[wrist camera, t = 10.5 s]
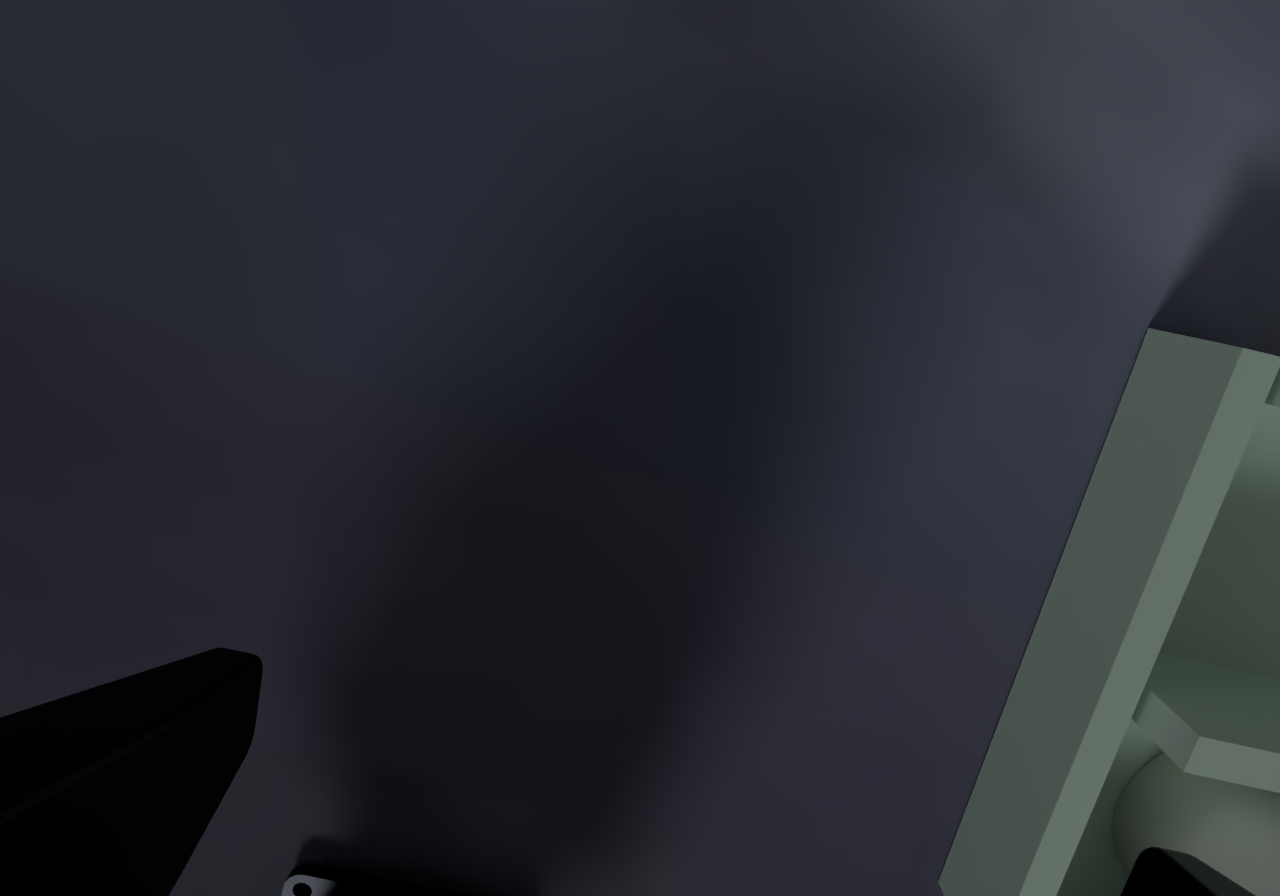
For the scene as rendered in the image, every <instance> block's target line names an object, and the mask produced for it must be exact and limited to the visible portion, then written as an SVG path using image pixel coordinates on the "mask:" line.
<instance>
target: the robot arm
mask: <svg viewBox="0 0 1280 896" xmlns="http://www.w3.org/2000/svg"><path fill="white" fill-rule="evenodd" d="M262 671H263V669H262V662H261V660H260V658H259V657H258V656H256V655H254V654H250V653H245V652H241V651H236V650H231V649H227V648H215V649H212V650H209V651H206V652H203V653H199V654H196V655H193V656H190V657H187V658H184V659H181V660H178V661H175V662H172V663H168V664H165V665H162V666H159V667H156V668H153V669H150V670H147V671H144V672H140V673H137V674H134V675H131V676H128V677H125V678H122V679H119V680H116V681H113V682H109V683H106V684H103V685H100V686H97V687H94V688H91V689H88V690H85V691H81V692H78V693H75V694H72V695H69V696H66V697H63V698H60V699H57V700H54V701H50V702H47V703H44V704H41V705H38V706H35V707H32V708H29V709H26V710H22V711H19V712H16V713H13V714H10V715H7V716H4V717H1V718H0V896H169V894H170V892H171V891H172V889H173V887H174V885H175V884H176V882H177V880H178V879H179V877H180V875H181V873H182V872H183V870H184V868H185V866H186V864H187V862H188V861H189V859H190V857H191V855H192V853H193V852H194V850H195V848H196V846H197V844H198V842H199V841H200V839H201V837H202V835H203V833H204V832H205V830H206V828H207V826H208V824H209V822H210V821H211V819H212V817H213V815H214V813H215V811H216V810H217V808H218V806H219V804H220V802H221V801H222V799H223V797H224V795H225V793H226V791H227V790H228V788H229V786H230V784H231V782H232V781H233V779H234V777H235V775H236V773H237V771H238V770H239V768H240V766H241V764H242V762H243V761H244V759H245V757H246V755H247V753H248V750H249V748H250V745H251V742H252V739H253V735H254V731H255V724H256V717H257V709H258V702H259V694H260V687H261V680H262ZM300 883H305V884H307V885H309V886H310V887H311V888H306V887H304V886H302V885H301V884H300ZM282 896H464V895H459V894H454V893H450V892H445V891H440V890H435V889H430V888H425V887H420V886H415V885H410V884H405V883H401V882H396V881H391V880H386V879H381V878H376V877H371V876H366V875H361V874H356V873H352V872H347V871H342V870H337V869H332V868H327V867H322V866H317V865H312V864H301V865H298V866H296V867H295V868H294V869H293V870H292V871H291V873H290V874H289V876H288V878H287V880H286V881H285V884H284V886H283V892H282ZM1120 896H1255V895H1254V894H1252V893H1251V892H1249V891H1248V890H1246V889H1245V888H1243V887H1241V886H1240V885H1238V884H1237V883H1235V882H1234V881H1232V880H1230V879H1229V878H1227V877H1226V876H1224V875H1223V874H1221V873H1220V872H1218V871H1216V870H1215V869H1213V868H1212V867H1210V866H1209V865H1207V864H1206V863H1204V862H1202V861H1201V860H1199V859H1198V858H1196V857H1194V856H1192V855H1190V854H1187V853H1184V852H1179V851H1175V850H1170V849H1165V848H1160V847H1149V848H1146V849H1144V850H1143V851H1142V852H1141V853H1140V854H1139V855H1138V857H1137V859H1136V861H1135V864H1134V866H1133V868H1132V870H1131V873H1130V875H1129V877H1128V879H1127V882H1126V884H1125V886H1124V888H1123V891H1122V893H1121V895H1120Z"/></svg>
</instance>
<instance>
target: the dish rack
mask: <svg viewBox="0 0 1280 896" xmlns="http://www.w3.org/2000/svg"><path fill="white" fill-rule="evenodd" d="M1162 753H1165V754H1166V755H1167V756H1168V757H1169V758H1170V759H1171V760H1172V761H1173V762H1174V763H1175V764H1176V765H1177V766H1178V767H1179V768H1180V769H1181V770H1182V771H1183V772H1185V773H1190V774H1194V775H1199V776H1203V777H1208V778H1213V779H1217V780H1222V781H1226V782H1231V783H1236V784H1240V785H1245V786H1249V787H1254V788H1258V789H1263V790H1268V791H1272V792H1277V793H1280V357H1279V356H1275V355H1271V354H1267V353H1263V352H1259V351H1254V350H1250V349H1246V348H1242V347H1237V346H1232V345H1228V344H1223V343H1218V342H1213V341H1209V340H1204V339H1199V338H1194V337H1189V336H1185V335H1180V334H1175V333H1170V332H1166V331H1161V330H1156V329H1151V328H1148V330H1147V333H1146V335H1145V338H1144V341H1143V343H1142V346H1141V348H1140V351H1139V354H1138V356H1137V359H1136V362H1135V364H1134V367H1133V370H1132V372H1131V375H1130V377H1129V380H1128V383H1127V385H1126V388H1125V391H1124V393H1123V396H1122V399H1121V401H1120V404H1119V406H1118V409H1117V412H1116V414H1115V417H1114V420H1113V422H1112V425H1111V428H1110V430H1109V433H1108V435H1107V438H1106V441H1105V443H1104V446H1103V449H1102V451H1101V454H1100V456H1099V459H1098V462H1097V464H1096V467H1095V470H1094V472H1093V475H1092V478H1091V480H1090V483H1089V485H1088V488H1087V491H1086V493H1085V496H1084V499H1083V501H1082V504H1081V507H1080V509H1079V512H1078V514H1077V517H1076V520H1075V522H1074V525H1073V528H1072V530H1071V533H1070V536H1069V538H1068V541H1067V543H1066V546H1065V549H1064V551H1063V554H1062V557H1061V559H1060V562H1059V565H1058V567H1057V570H1056V572H1055V575H1054V578H1053V580H1052V583H1051V586H1050V588H1049V591H1048V594H1047V596H1046V599H1045V601H1044V604H1043V607H1042V609H1041V612H1040V615H1039V617H1038V620H1037V623H1036V625H1035V628H1034V630H1033V633H1032V636H1031V638H1030V641H1029V644H1028V646H1027V649H1026V652H1025V654H1024V657H1023V659H1022V662H1021V665H1020V667H1019V670H1018V673H1017V675H1016V678H1015V681H1014V683H1013V686H1012V688H1011V691H1010V694H1009V696H1008V699H1007V702H1006V704H1005V707H1004V709H1003V712H1002V715H1001V717H1000V720H999V723H998V725H997V728H996V731H995V733H994V736H993V738H992V741H991V744H990V746H989V749H988V752H987V754H986V757H985V760H984V762H983V765H982V767H981V770H980V773H979V775H978V778H977V781H976V783H975V786H974V789H973V791H972V794H971V796H970V799H969V802H968V804H967V807H966V810H965V812H964V815H963V818H962V820H961V823H960V825H959V828H958V831H957V833H956V836H955V839H954V841H953V844H952V847H951V849H950V852H949V854H948V857H947V860H946V862H945V865H944V868H943V870H942V873H941V876H940V878H939V881H938V882H939V885H940V887H941V889H942V892H943V894H944V896H1120V895H1121V893H1122V891H1123V888H1124V886H1125V884H1126V882H1127V879H1128V877H1129V875H1128V873H1127V872H1126V871H1125V869H1124V868H1123V866H1122V865H1121V863H1120V861H1119V859H1118V857H1117V855H1116V852H1115V849H1114V846H1113V840H1112V821H1113V815H1114V811H1115V808H1116V805H1117V802H1118V800H1119V798H1120V796H1121V794H1122V792H1123V791H1124V789H1125V788H1126V786H1127V785H1128V783H1129V782H1130V781H1131V780H1132V778H1133V777H1134V776H1135V775H1136V774H1137V773H1138V772H1139V771H1140V770H1141V769H1142V768H1143V767H1144V766H1145V765H1146V764H1147V763H1149V762H1150V761H1152V760H1153V759H1154V758H1156V757H1157V756H1159V755H1160V754H1162Z"/></svg>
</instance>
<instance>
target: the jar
mask: <svg viewBox="0 0 1280 896" xmlns="http://www.w3.org/2000/svg"><path fill="white" fill-rule="evenodd" d="M1112 840H1113V846H1114V849H1115V852H1116V855H1117V857H1118V859H1119V861H1120V863H1121V865H1122V866H1123V868H1124V869H1125V871H1126V872H1127V873H1128V875H1130V873H1131V870H1132V868H1133V866H1134V864H1135V861H1136V859H1137V857H1138V855H1139V854H1140V853H1141V852H1142V851H1143V850H1144V849H1146V848H1149V847H1160V848H1165V849H1170V850H1175V851H1179V852H1184V853H1187V854H1190V855H1192V856H1194V857H1196V858H1198V859H1199V860H1201V861H1202V862H1204V863H1206V864H1207V865H1209V866H1210V867H1212V868H1213V869H1215V870H1216V871H1218V872H1220V873H1221V874H1223V875H1224V876H1226V877H1227V878H1229V879H1230V880H1232V881H1234V882H1235V883H1237V884H1238V885H1240V886H1241V887H1243V888H1245V889H1246V890H1248V891H1249V892H1251V893H1252V894H1254V895H1255V896H1280V793H1277V792H1272V791H1268V790H1263V789H1258V788H1254V787H1249V786H1245V785H1240V784H1236V783H1231V782H1226V781H1222V780H1217V779H1213V778H1208V777H1203V776H1199V775H1194V774H1190V773H1185V772H1183V771H1182V770H1181V769H1180V768H1179V767H1178V766H1177V765H1176V764H1175V763H1174V762H1173V761H1172V760H1171V759H1170V758H1169V757H1168V756H1167V755H1166V754H1165V753H1162V754H1160V755H1159V756H1157V757H1156V758H1154V759H1153V760H1152V761H1150V762H1149V763H1147V764H1146V765H1145V766H1144V767H1143V768H1142V769H1141V770H1140V771H1139V772H1138V773H1137V774H1136V775H1135V776H1134V777H1133V778H1132V780H1131V781H1130V782H1129V783H1128V785H1127V786H1126V788H1125V789H1124V791H1123V792H1122V794H1121V796H1120V798H1119V800H1118V802H1117V805H1116V808H1115V811H1114V815H1113V821H1112Z"/></svg>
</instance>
